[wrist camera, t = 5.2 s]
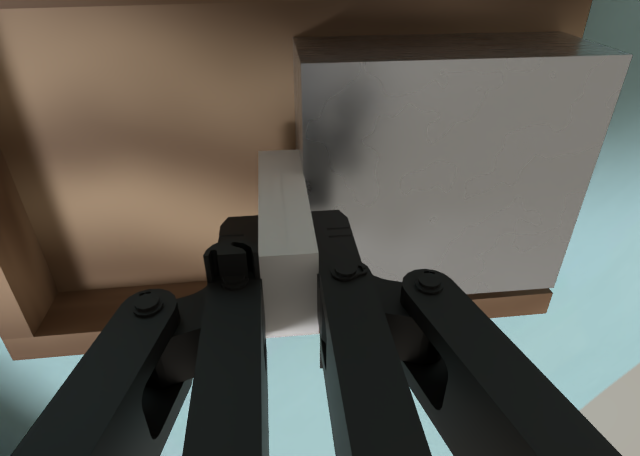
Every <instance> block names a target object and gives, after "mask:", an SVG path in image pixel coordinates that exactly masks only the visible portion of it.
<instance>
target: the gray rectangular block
mask: <svg viewBox="0 0 640 456" xmlns="http://www.w3.org/2000/svg"><path fill="white" fill-rule="evenodd" d="M632 56H633V55H632V54H629V53H626V52H623V51H620V50H617V49H614V48H611V47H608V46H605V45H601V44H598V43H595V42H592V41H589V40H586V39H583V38H580V37H577V36H574V35H571V34H568V33H565V32H562V31H550V32H503V33H456V34H409V35H362V36H316V37H293V67H294V101H295V134H296V150H298V149H299V154H300V159H301V165H302V170H303V175H304V178H305V183H306V188H307V194H308V199H309V204H310V210H311V211H323V210H340V211H341V212H342V213H343V214H344V215H345V216H347V217H348V220H349V223H350V226H351V230H352V233H353V236H354V239H355V242H356V246H357V249H358V252H359V255H360V258H361V261H362V263H364V264H365V265H367V266H368V268H369V269H370V271H371V273H372V274H373V275H374V276H377V277H379V278H382V279H386V280H392V281H399V282H402V281H403V277H404V276H405V275H406V274H407V273H408V272H411V271H413V270H417V269H431V270H436V271H439V272H441V273H444V274H445V275H447V276H448V277H449V278H451V279H452V280H453V281H454V282H455V283H456V284H457V285H458V286H459V287H460V288H461V289H462V290H463V291H464V292H465V293H466V294H476V293H489V292H503V291H516V290H530V289H543V288H554V285H555V282H556V279H557V276H558V273H559V271H560V268H561V265H562V262H563V259H564V256H565V253H566V250H567V247H568V244H569V241H570V238H571V235H572V232H573V229H574V226H575V223H576V221H577V218H578V215H579V212H580V209H581V206H582V203H583V200H584V197H585V194H586V191H587V188H588V185H589V182H590V179H591V176H592V173H593V171H594V168H595V165H596V162H597V159H598V156H599V153H600V150H601V147H602V144H603V141H604V138H605V135H606V132H607V129H608V126H609V123H610V121H611V118H612V115H613V112H614V109H615V106H616V103H617V100H618V97H619V94H620V91H621V88H622V85H623V82H624V79H625V76H626V73H627V70H628V68H629V65H630V62H631V59H632Z"/></svg>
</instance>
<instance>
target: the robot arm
mask: <svg viewBox="0 0 640 456" xmlns="http://www.w3.org/2000/svg"><path fill="white" fill-rule="evenodd" d="M203 259H204V265H205V271H206V277H207V286H206V287H205V288H203V289H202V290H200V291H198V292H196V293H194V294H191V295H188V296H185V297H181V298H178V299H176V297H175V295H174V294H172V293H171V292H170V291H168V290H164V289H147V290H144V291H140V292H137V293H135V294H133V295H132V296H130V297H128V298H127V299H126V300H125V301H124V302H123V303H122V304H121V305H120V307H119V308H118V309H117V311H116V312H115V313H114V315H113V316H112V317H111V319H110V320H109V322H108V323H107V324H106V326H105V327H104V328H103V330H102V331H101V333H100V334H99V335H98V337H97V338H96V339H95V341H94V342H93V343H92V345H91V346H90V348H89V349H88V350H87V352H86V353H85V354H84V356H83V357H82V359H81V360H80V361H79V363H78V364H77V365H76V367H75V368H74V369H73V371H72V372H71V374H70V375H69V376H68V378H67V379H66V380H65V382H64V383H63V385H62V386H61V387H60V389H59V390H58V391H57V393H56V394H55V396H54V397H53V398H52V400H51V401H50V402H49V404H48V405H47V406H46V408H45V409H44V411H43V412H42V413H41V415H40V416H39V417H38V419H37V420H36V422H35V423H34V424H33V426H32V427H31V428H30V430H29V431H28V432H27V434H26V435H25V437H24V438H23V439H22V441H21V442H20V443H19V445H18V446H17V448H16V449H15V450H14V452H13V453H12V454H11V456H160V455H161V452H162V450H163V448H164V446H165V443H166V441H167V439H168V436H169V434H170V432H171V430H172V427H173V425H174V423H175V421H176V418H177V416H178V414H179V412H180V409H181V407H182V405H183V403H184V400H185V398H186V396H187V394H188V391H189V389H190V387H191V385H192V380H193V386H192V392H191V399H190V406H189V413H188V420H187V427H186V434H185V441H184V448H183V454H182V456H269V428H268V381H267V348H266V338H274V337H287V336H300V335H312V334H319V331H320V368H323V372H324V379H325V385H326V392H327V399H328V406H329V413H330V420H331V427H332V434H333V440H334V447H335V454H336V456H432V455H431V452H430V449H429V446H428V443H427V440H426V437H425V434H424V431H423V428H422V425H421V422H420V419H419V416H418V413H417V410H416V406H415V403H414V400H413V397H412V394H411V391H410V389H411V390H412V392H413V393H414V395H415V396H416V398H417V399H418V401H419V403H420V404H421V406H422V407H423V409H424V410H425V412H426V413H427V415H428V417H429V418H430V420H431V421H432V423H433V424H434V426H435V428H436V429H437V431H438V432H439V434H440V435H441V437H442V438H443V440H444V442H445V443H446V445H447V446H448V448H449V449H450V451H451V452H452V454H453V456H622V455H621V454H620V453H619V452H618V451H617V450H616V449H615V448H614V447H613V446H612V445H611V444H610V443H609V442H608V441H607V440H606V438H605V437H603V435H602V434H601V433H600V432H599V431H598V430H597V429H596V428H595V427H594V426H593V425H592V424H591V423H590V422H589V421H588V420H587V419H586V418H585V417H584V416H583V415H582V414H581V413H580V412H579V411H578V409H577V408H576V407H575V406H574V405H573V404H572V403H571V402H570V401H569V400H568V399H567V398H566V397H565V396H564V395H563V394H562V393H561V392H560V391H559V390H558V389H557V388H556V387H555V386H554V385H553V384H552V383H551V381H550V380H549V379H548V378H547V377H546V376H545V375H544V374H543V373H542V372H541V371H540V370H539V369H538V368H537V367H536V366H535V365H534V364H533V363H532V362H531V361H530V360H529V359H528V358H527V357H526V356H525V355H524V354H523V352H522V351H521V350H520V349H519V348H518V347H517V346H516V345H515V344H514V343H513V342H512V341H511V340H510V339H509V338H508V337H507V336H506V335H505V334H504V333H503V332H502V331H501V330H500V329H499V328H498V327H497V326H496V325H495V323H494V322H493V321H492V320H491V319H490V318H489V317H488V316H487V315H486V314H485V313H484V312H483V311H482V310H481V309H480V308H479V307H478V306H477V305H476V304H475V303H474V302H473V301H472V300H471V299H470V298H469V297H468V296H467V294H466V293H465V292H464V291H463V290H462V289H461V288H460V287H459V286H458V285H457V284H456V283H455V282H454V281H453V280H452V279H451V278H449V277H448V276H447V275H445V274H444V273H441V272H439V271H436V270H431V269H417V270H413V271H411V272H408V273H407V274H406V275H405V276H404V277H403V281H402V282H399V281H392V280H386V279H382V278H379V277H377V276H374V275H373V274H372V273H371V271H370V269H369V268H368V266H367V265H365V264H364V263H362V261H361V258H360V255H359V252H358V249H357V246H356V242H355V239H354V236H353V233H352V230H351V226H350V223H349V220H348V217H347V216H345V215H344V214H343V213H342V212H341V211H340V210H323V211H311V210H310V204H309V199H308V194H307V188H306V183H305V178H304V175H303V170H302V165H301V159H300V154H299V149H298V150H275V151H258V215H254V216H236V217H228V218H227V219H226V220H225V221H224V222H223V223H222V224H221V226H220V231H219V238H218V243H216V244H213V245H212V246H210V247H209V248H208V249H207V250H206V251H205V253H204V255H203ZM193 378H194V379H193ZM409 387H410V388H409Z"/></svg>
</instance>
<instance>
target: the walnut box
mask: <svg viewBox="0 0 640 456" xmlns="http://www.w3.org/2000/svg"><path fill="white" fill-rule="evenodd" d="M591 4H592V0H0V336H1V338H2V340H3V342H4V344H5V346H6V348H7V350H8V352H9V354H10V356H11V357H12V359H13V360H24V359H36V358H47V357H58V356H69V355H81V354H85V353H86V352H87V350H88V349H89V348H90V346H91V345H92V343H93V342H94V341H95V339H96V338H97V337H98V335H99V334H100V333H101V331H102V330H103V328H104V327H105V326H106V324H107V323H108V322H109V320H110V319H111V317H112V316H113V315H114V313H115V312H116V311H117V309H118V308H119V307H120V305H121V304H122V303H123V302H124V301H125V300H126V299H127V298H128V297H130V296H132V295H133V294H135V293H137V292H140V291H144V290H147V289H164V290H168V291H170V292H171V293H172V294H174V295H175V297H176V299H178V298H181V297H185V296H188V295H191V294H194V293H196V292H198V291H200V290H202V289H203V288H205V287H206V286H207V277H206V271H205V265H204V259H203V255H204V253H205V251H206V250H207V249H208V248H209V247H210V246H212V245H213V244H216V243H218V238H219V231H220V226H221V224H222V223H223V222H224V221H225V220H226V219H227V218H228V217H236V216H254V215H258V151H275V150H296V134H295V101H294V67H293V37H316V36H362V35H409V34H456V33H503V32H550V31H562V32H565V33H568V34H571V35H574V36H577V37H580V38H582V37H583V33H584V30H585V26H586V22H587V19H588V15H589V11H590V7H591ZM552 294H553V293H552V291H551V290H550V289H549V288H543V289H530V290H516V291H503V292H489V293H476V294H467V296H468V297H469V298H470V299H471V300H472V301H473V302H474V303H475V304H476V305H477V306H478V307H479V308H480V309H481V310H482V311H483V312H484V313H485V314H486V315H487V316H488V317H489V318H498V317H509V316H520V315H531V314H543V313H546V312H547V309H548V306H549V303H550V300H551V297H552ZM319 333H320V331H319Z"/></svg>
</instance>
